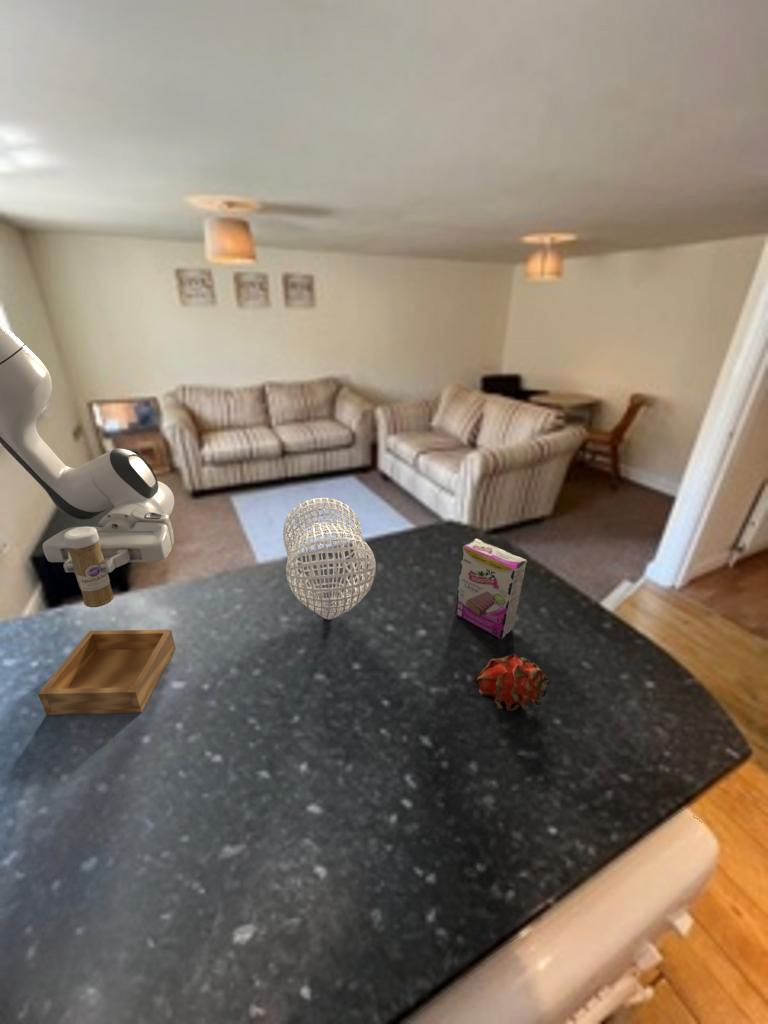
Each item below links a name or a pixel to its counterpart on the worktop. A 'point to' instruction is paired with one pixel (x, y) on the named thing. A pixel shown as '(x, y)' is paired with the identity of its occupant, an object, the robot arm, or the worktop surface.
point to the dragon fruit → (512, 682)
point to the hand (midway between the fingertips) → (86, 568)
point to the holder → (109, 673)
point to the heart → (357, 546)
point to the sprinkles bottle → (89, 566)
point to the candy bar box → (489, 587)
